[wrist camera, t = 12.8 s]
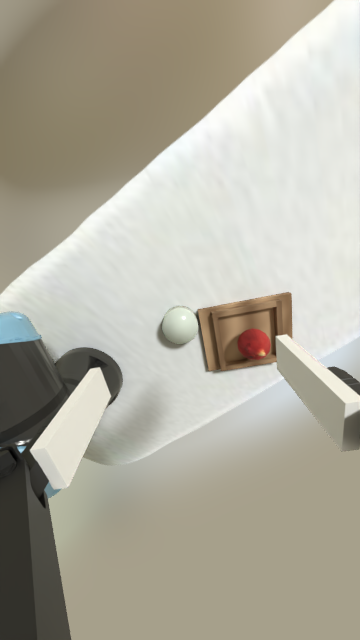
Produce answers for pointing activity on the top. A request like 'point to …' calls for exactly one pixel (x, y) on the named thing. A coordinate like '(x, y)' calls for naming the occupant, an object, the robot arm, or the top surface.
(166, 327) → the pale green dome
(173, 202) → the top surface
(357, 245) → the top surface
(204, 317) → the tray
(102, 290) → the top surface
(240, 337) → the onion
